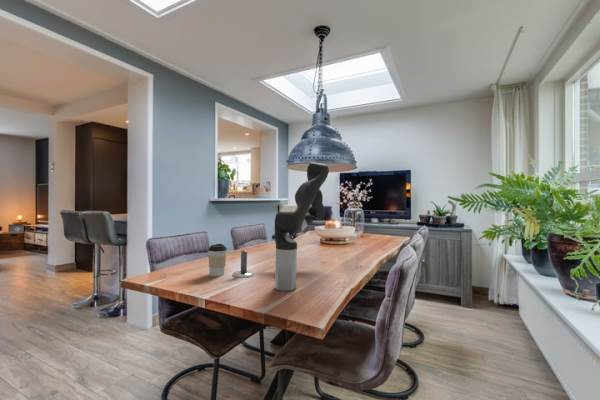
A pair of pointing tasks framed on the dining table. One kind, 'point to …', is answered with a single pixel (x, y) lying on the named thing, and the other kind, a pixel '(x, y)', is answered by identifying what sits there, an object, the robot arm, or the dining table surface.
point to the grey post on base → (243, 267)
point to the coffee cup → (217, 259)
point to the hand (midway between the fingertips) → (276, 240)
